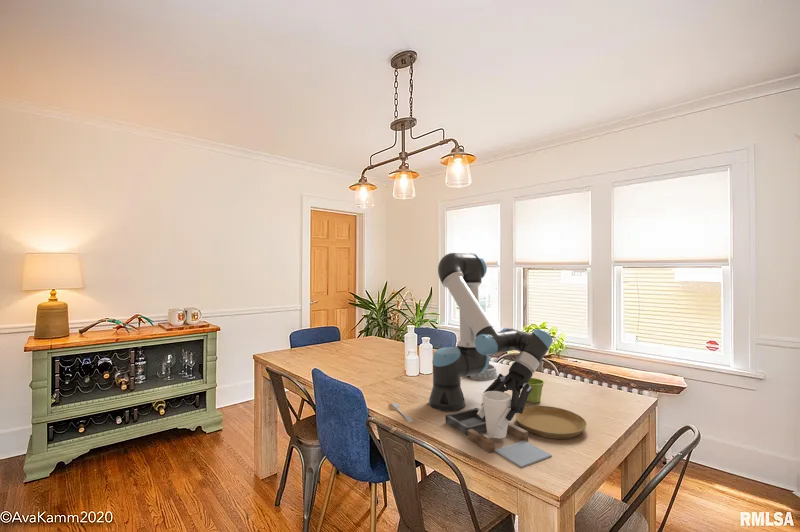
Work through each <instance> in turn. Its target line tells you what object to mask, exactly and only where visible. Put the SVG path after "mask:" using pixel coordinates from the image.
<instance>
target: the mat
mask: <svg viewBox="0 0 800 532" xmlns="http://www.w3.org/2000/svg"><path fill="white" fill-rule="evenodd" d="M494 452H495V453H497V454H499V456H501V457H503V458H504V459H506V460H508V461H509V462H511V463H513V464H514V465H516V466H518V467H520V468H525V467H527V466H531V465H533V464H535V463H538V462H541V461H543V460H545V459H549V458H552V456H553V455H552V454H550V453H549V452H547V451H545V450H543V449H541V448H539V447H538V446H536V445H535V444H532V443H529V441H524V440H523V441H522V440H519V441H517V442H515V443H512V444H508V445H506V446H502V447H498V448H496V449H495V451H494Z"/></svg>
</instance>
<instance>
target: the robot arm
mask: <svg viewBox="0 0 800 532" xmlns="http://www.w3.org/2000/svg"><path fill="white" fill-rule="evenodd" d="M487 270H488V268H487V263H486V261H485V259H484V258H483V257H482V255H480V254H477V253H472V252H471V253H470V252H467V253H466V252H450V253H447V254H445V255H444V256H443V257H441V259H440V260H439V263H438V266H437V273H438V275H437V276H438V279H439V281H440V282H441V284H442V286H443V287H444V288H447V289H448V291H449V293H450V294H451V296H452V298H453V299H454V301H455V302H456V305H457V307H458V308H459V310H458V312H459V336H460V337H459V339H460V340H459V341H458V342H457V344H456V347H454V346H448V347H441V348H438V349H436V350H435V351H434V352H433V355H432V389H431V392H430V395H429V398H428V399H429V400H428V405H429V406H430V408H433V409H435V410H438V411H442V412H443V411H444V412H454V411H455V412H456V411H460V410H462V409H464V408H465V406H466V399H465V396H464V393H463V390H462V387H461V378H465V377H470V375H477V374H479V373H482V372H484V371H485V370H486V369H487V368H488V365H489V364H490V356H491V355H496V354H499V353H507V352H512V351H517V352H519V353H518V355H517V356H516V358H515V359H514V362H513V363H512V364H511V365H510V367H509V369H508V374H506V375H503V373H499V374H497V378H496V379H494V381H493V382H492V383H491V384H490V385H489V386H488V387H487V388H486V389H485V390H484V391H483V393H484V392H488V391H500V392H504V393H506V392H507V391H511V405H510V407H509V408H510V409H509V408H507V410H506V411H505V413H504V415H503V416H502V418H501V419H500V421H499V423H498V424H497V425H498V426H499V427H500V428H501V429H502V430H504V428H505V427H506V425H507V423H508V422H511V421H512V420H513V418H514V417H515V414H516V413H520V414H522V413H523V410H524V407H526V403H527V402H528V401H527V398H528V395H529V393H530V392H531V390H532V388H531V386H530V385H529V384H528V382H529V380H530V379H531V378H533V376H534V375H533V374H534V373H536V371H537V369H538V367H539V366H540V364H541V362H542V360H543V358H544V357H545V355H546V354H547V353H548V351H550V348H551V346H552V344H553V342H554V339H553V337H552V336H551V334H550V333H549V332H547V331H546V330H544V329H541V328H536V329H534V330H533V331H532V333H528V332H524V331H521V330H518V329H514V328H509V327H504V328H502V330H500V331H497V330H496V328H494V325H493V324H492V322H491V320H490V319H489V317H488V316H487V314H486V313H485V311H484V309H483V308H482V307H481V304H480V302H479V286H481V284H482V279H483V278H484V277H485V276H486V274H487ZM526 383H527V384H526ZM478 409H479V411H478V412H477V414H478V415H479V416H480V417H481V418H482V419H483V417H484V416H485V412H484V404H483V402H482V403H481V405H480V408H478Z"/></svg>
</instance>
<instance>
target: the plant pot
mask: <svg viewBox="0 0 800 532" xmlns="http://www.w3.org/2000/svg"><path fill="white" fill-rule="evenodd" d="M526 384H527V383H526ZM528 384H529V385H530V386H531V388H532V390H531V392H530V393H529V395H528V398H527V401H526V402H529V403H531V404H538V403H540V402H541V400H542V399H541V398H542V394H543V393H542V391H543V387H544V384H545V381H544V380H543V379H540V378H536V377H531V379H530V380H529V382H528Z"/></svg>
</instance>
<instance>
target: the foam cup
mask: <svg viewBox="0 0 800 532" xmlns="http://www.w3.org/2000/svg"><path fill="white" fill-rule="evenodd" d="M511 399H512V395H510V394H509V393H507V392H500V391H488V392H484V391H483V393H482V401H481V402H482V403H483V404H484V412H485V420H486V428H487V432H486V434H487V436H489V437H491V438H495V439H503V438H506V437H507V435H508V433H507V427H508V423H507V425H506V427H505V428H504V430H502V429H501V428H500V427H499V426H498V425H497V424H498V423H499V421H500V419H501V418H502V416H503V415H504V413H505V411H506V410H507V408H509V407H510V406H511ZM509 409H510V408H509Z"/></svg>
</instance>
